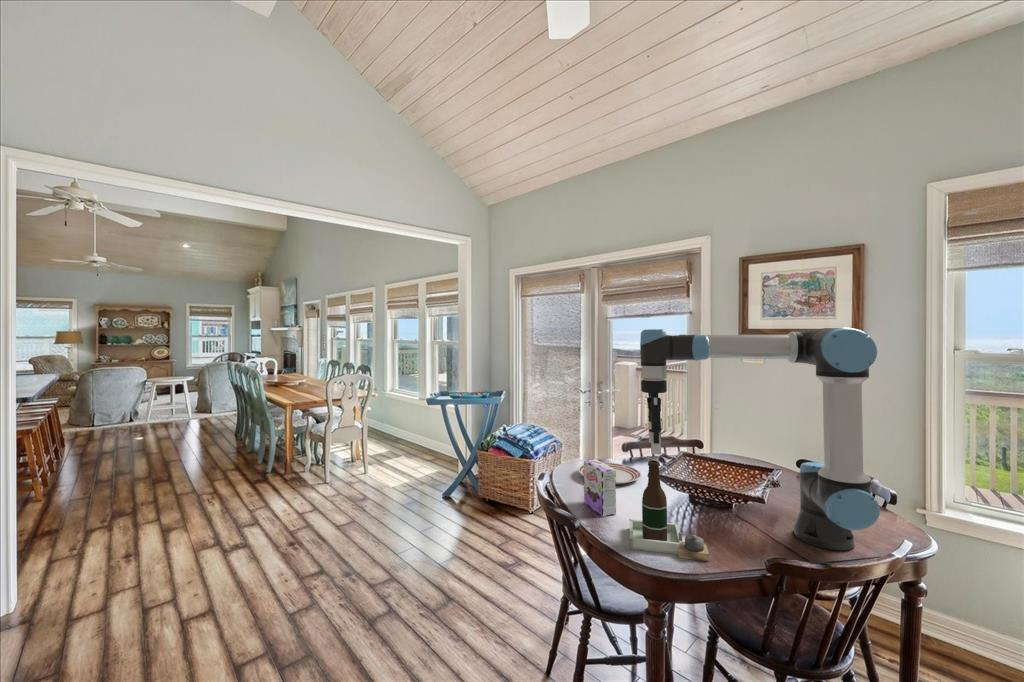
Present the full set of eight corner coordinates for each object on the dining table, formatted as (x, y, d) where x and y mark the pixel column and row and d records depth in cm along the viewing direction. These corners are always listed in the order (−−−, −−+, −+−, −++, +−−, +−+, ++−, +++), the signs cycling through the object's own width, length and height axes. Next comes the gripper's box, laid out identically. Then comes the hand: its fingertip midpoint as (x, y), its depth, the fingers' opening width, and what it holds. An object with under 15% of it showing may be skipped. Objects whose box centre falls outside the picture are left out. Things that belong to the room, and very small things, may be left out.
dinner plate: (642, 471, 200) (642, 464, 200) (640, 491, 174) (640, 483, 174) (583, 466, 209) (583, 459, 209) (573, 485, 183) (573, 477, 183)
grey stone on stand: (705, 550, 126) (705, 532, 126) (709, 561, 120) (709, 542, 120) (676, 547, 128) (676, 529, 128) (678, 557, 122) (678, 538, 122)
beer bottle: (672, 538, 132) (671, 460, 132) (662, 547, 127) (661, 466, 126) (648, 530, 138) (647, 456, 137) (637, 539, 132) (636, 462, 132)
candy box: (583, 503, 163) (583, 460, 163) (597, 501, 165) (596, 458, 164) (602, 517, 150) (601, 470, 149) (616, 515, 151) (616, 468, 151)
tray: (678, 533, 137) (678, 523, 137) (683, 554, 123) (683, 544, 123) (629, 528, 141) (629, 519, 141) (629, 549, 127) (629, 539, 127)
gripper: (639, 375, 145) (640, 438, 145) (642, 383, 121) (643, 458, 121) (663, 375, 143) (664, 439, 143) (670, 383, 119) (671, 460, 119)
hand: (654, 448), depth 132 cm, fingers open, 13 cm apart
